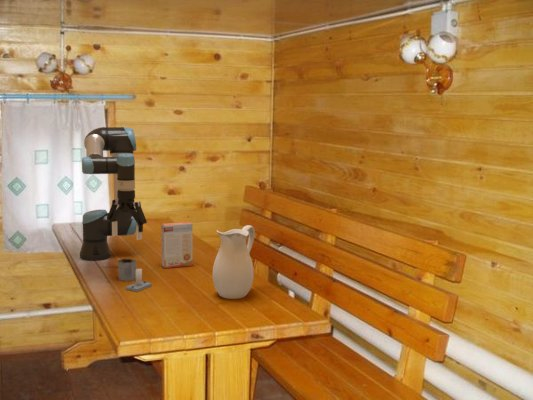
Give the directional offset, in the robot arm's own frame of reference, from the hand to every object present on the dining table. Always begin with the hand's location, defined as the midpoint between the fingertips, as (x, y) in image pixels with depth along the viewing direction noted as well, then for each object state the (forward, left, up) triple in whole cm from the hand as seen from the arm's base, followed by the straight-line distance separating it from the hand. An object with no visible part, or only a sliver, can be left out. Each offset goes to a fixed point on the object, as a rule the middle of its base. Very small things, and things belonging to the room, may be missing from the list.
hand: (126, 237), depth 280 cm
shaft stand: (+13, -8, -19) cm, 24 cm away
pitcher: (+52, +8, -19) cm, 56 cm away
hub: (0, 0, -19) cm, 19 cm away
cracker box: (+6, +29, -19) cm, 35 cm away
